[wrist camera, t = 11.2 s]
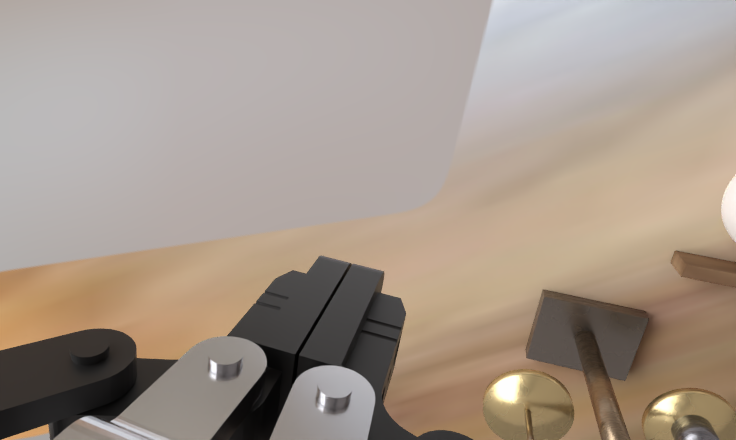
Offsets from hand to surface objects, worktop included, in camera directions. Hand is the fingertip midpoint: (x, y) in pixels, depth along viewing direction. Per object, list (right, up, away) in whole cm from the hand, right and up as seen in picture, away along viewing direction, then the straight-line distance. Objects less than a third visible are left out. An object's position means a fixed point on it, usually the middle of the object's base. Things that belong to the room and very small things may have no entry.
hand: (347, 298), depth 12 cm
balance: (+18, -7, +32) cm, 37 cm away
